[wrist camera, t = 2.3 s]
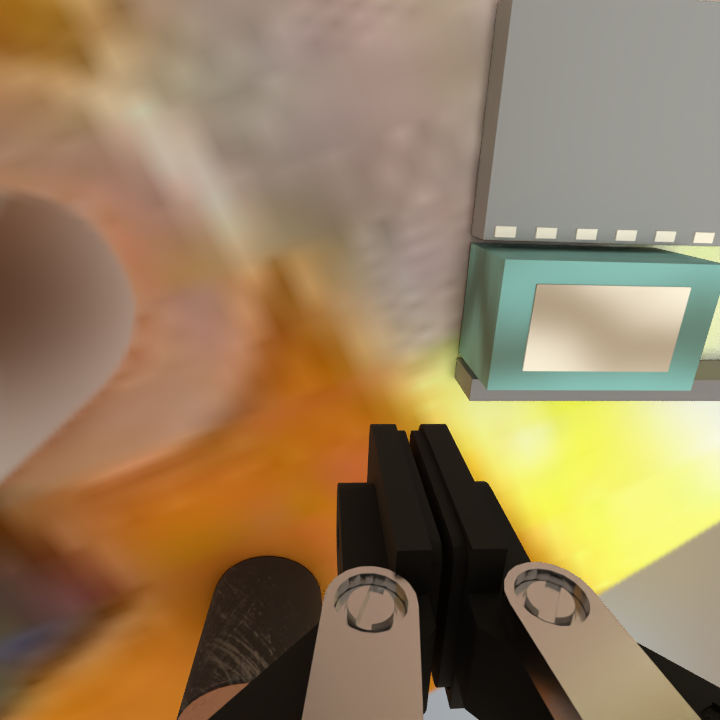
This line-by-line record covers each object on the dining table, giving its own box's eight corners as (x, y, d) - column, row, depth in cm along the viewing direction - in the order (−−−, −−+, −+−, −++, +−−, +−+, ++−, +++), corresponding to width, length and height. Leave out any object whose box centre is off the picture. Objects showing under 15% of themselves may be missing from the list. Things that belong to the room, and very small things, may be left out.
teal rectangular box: (471, 243, 25) (506, 259, 21) (655, 248, 26) (730, 265, 21) (458, 352, 27) (487, 390, 23) (629, 354, 28) (692, 391, 24)
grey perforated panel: (497, 2, 22) (523, -22, 19) (906, 31, 23) (985, 12, 21) (454, 378, 28) (469, 400, 25) (778, 379, 30) (825, 400, 27)
